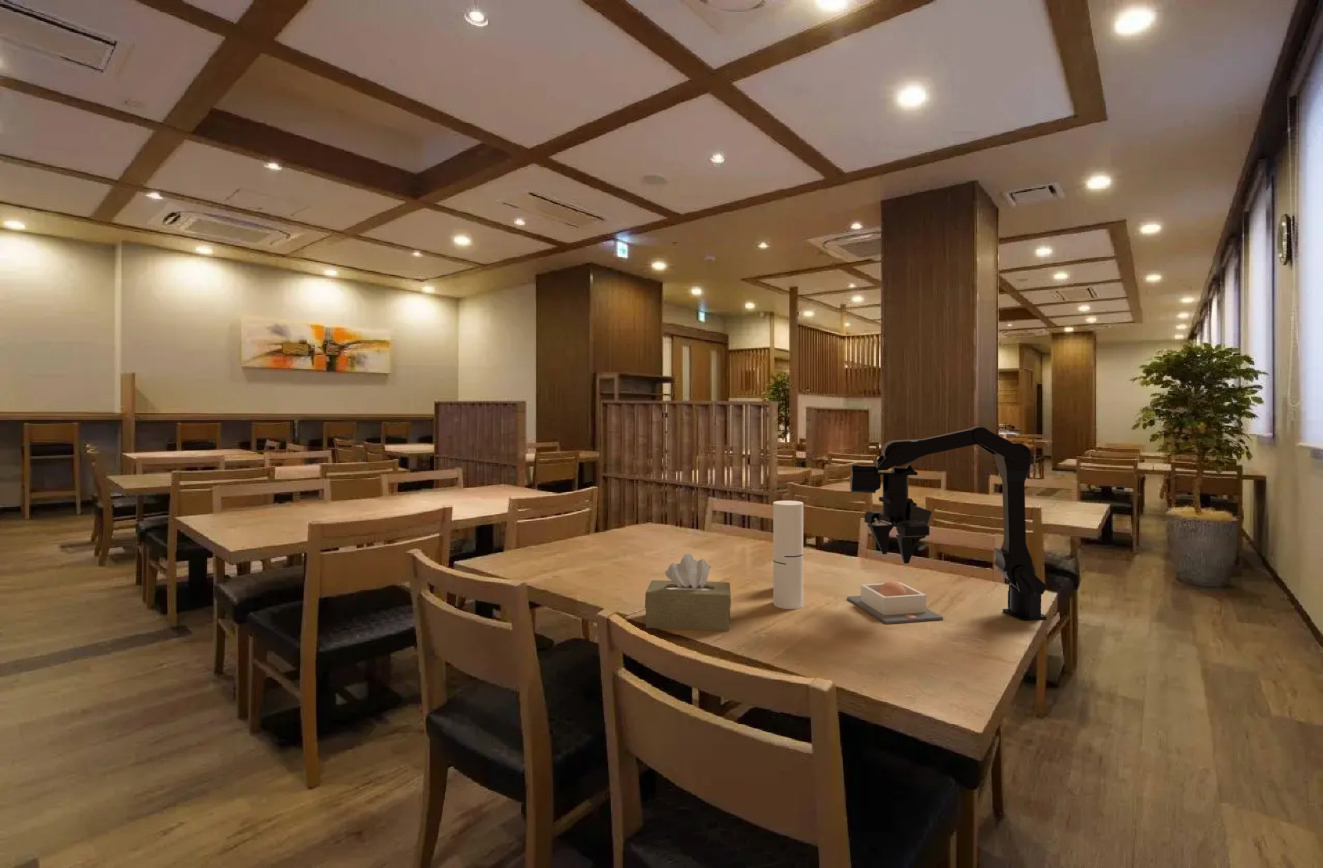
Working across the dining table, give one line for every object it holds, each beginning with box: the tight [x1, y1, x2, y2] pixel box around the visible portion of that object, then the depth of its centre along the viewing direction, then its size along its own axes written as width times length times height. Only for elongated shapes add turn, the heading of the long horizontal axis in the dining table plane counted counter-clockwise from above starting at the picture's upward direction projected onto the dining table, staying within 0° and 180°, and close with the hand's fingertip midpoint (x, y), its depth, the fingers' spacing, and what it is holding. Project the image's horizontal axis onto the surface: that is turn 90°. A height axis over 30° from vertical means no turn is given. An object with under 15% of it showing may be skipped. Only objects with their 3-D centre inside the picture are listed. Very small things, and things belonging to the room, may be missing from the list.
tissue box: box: [644, 553, 732, 632], centre depth 136 cm, size 19×10×16 cm, turn 83°
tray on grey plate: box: [846, 581, 944, 625], centre depth 144 cm, size 18×14×5 cm
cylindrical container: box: [772, 500, 804, 610], centre depth 147 cm, size 7×7×25 cm
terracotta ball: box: [879, 580, 906, 597], centre depth 144 cm, size 6×6×6 cm
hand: (895, 558), depth 144 cm, fingers open, 9 cm apart
